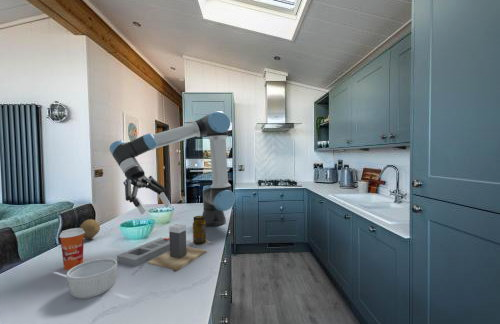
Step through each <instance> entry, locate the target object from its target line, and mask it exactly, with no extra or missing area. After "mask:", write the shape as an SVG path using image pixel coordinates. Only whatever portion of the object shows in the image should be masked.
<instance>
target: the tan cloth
mask: <svg viewBox="0 0 500 324" xmlns="http://www.w3.org/2000/svg"><path fill="white" fill-rule="evenodd" d="M186 250H187V255H185V256H184V257H182V258H180V259H179V258H174V257H170V250H168V251H166V252H164V253H162V254H160V255H158V256H156V257H154V258H152V259H150V260H148V261H147V264H149V265H153V266H158V267H163V268H167V269H170V270H172V271H173V272H177V271H179V270H180V269H182V268H183V267H185V266H188V265H189V264H190V263H191V262H193V261H195V260H196V259H198V258H200V257H201V256H202V255H204V254H206V253H207V249H203V248H197V247H192V246H187V245H186Z"/></svg>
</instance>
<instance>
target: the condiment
mask: <svg viewBox="0 0 500 324" xmlns="http://www.w3.org/2000/svg"><path fill="white" fill-rule="evenodd" d="M192 234H193V235H192V240H190V241H189V242H190V243H191V244H194V245H195V246H199V247H200V246H203V245H207V244H211V243H212V241H210V240H208V239H207V226H206V222H205V217H204V216H202V215H196V216H193V222H192Z"/></svg>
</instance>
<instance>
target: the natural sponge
mask: <svg viewBox="0 0 500 324" xmlns="http://www.w3.org/2000/svg"><path fill="white" fill-rule="evenodd" d="M79 228H82V229H83V230H84V231H85V233H84V239H86V240H91V239H93V238H94V237H95V236H97V234H98V233H99V232H100V230H101V226H100V223H99V222H98V221H97V220H95V219H92V218H90V219H86V220H84V221H83V222H82V223H80V225H79Z"/></svg>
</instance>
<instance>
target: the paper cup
mask: <svg viewBox="0 0 500 324" xmlns="http://www.w3.org/2000/svg"><path fill="white" fill-rule="evenodd" d="M84 233H85V231H84V230H83V229H82V228H80V227H75V228H68V229H65V230H62V231H61V232H60V235H59V239H60V248H61V255H62V263H63V269H64V270H65V271H69V270H70V269H72V268H73V267H75V266H77V265H79V264H82V263H84V241H85V240H84V239H85V238H84Z"/></svg>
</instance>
